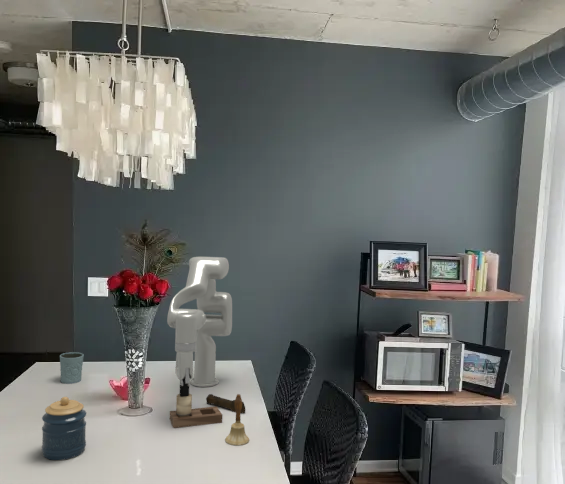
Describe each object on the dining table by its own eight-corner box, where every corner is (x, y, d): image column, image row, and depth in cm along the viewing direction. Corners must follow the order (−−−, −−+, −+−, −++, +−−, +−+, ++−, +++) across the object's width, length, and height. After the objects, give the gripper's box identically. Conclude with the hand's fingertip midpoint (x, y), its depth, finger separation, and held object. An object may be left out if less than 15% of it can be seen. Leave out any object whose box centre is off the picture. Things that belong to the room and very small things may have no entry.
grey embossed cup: (65, 377, 240) (66, 351, 240) (87, 378, 240) (87, 352, 239) (55, 383, 230) (55, 357, 230) (77, 384, 230) (77, 358, 229)
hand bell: (253, 442, 176) (254, 396, 175) (231, 447, 172) (232, 400, 171) (243, 433, 183) (244, 389, 182) (221, 438, 179) (222, 392, 178)
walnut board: (169, 419, 194) (169, 411, 194) (216, 413, 201) (216, 406, 201) (173, 428, 186) (173, 419, 186) (222, 422, 192) (222, 414, 192)
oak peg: (174, 420, 193) (175, 393, 193) (189, 418, 195) (190, 392, 195) (177, 426, 188) (177, 399, 188) (192, 424, 190) (193, 397, 190)
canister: (63, 440, 173) (64, 388, 173) (94, 447, 169) (95, 394, 168) (32, 456, 161) (32, 400, 160) (64, 464, 156) (65, 406, 156)
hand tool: (205, 404, 211) (205, 393, 211) (212, 402, 214) (212, 391, 214) (240, 416, 200) (240, 404, 200) (247, 413, 203) (247, 402, 203)
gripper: (171, 342, 196) (170, 390, 197) (178, 352, 182) (177, 403, 183) (191, 341, 199) (190, 388, 199) (199, 350, 185) (198, 401, 186)
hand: (184, 395), depth 191 cm, fingers closed
